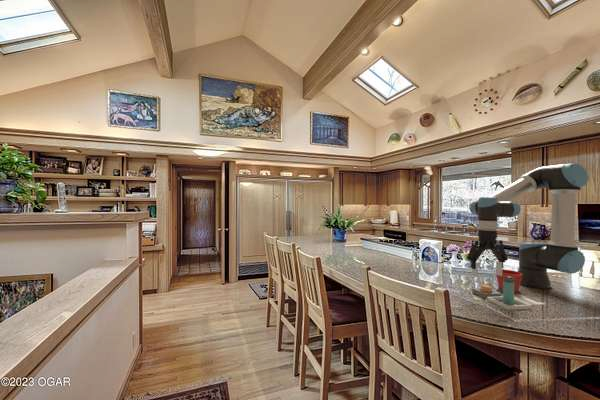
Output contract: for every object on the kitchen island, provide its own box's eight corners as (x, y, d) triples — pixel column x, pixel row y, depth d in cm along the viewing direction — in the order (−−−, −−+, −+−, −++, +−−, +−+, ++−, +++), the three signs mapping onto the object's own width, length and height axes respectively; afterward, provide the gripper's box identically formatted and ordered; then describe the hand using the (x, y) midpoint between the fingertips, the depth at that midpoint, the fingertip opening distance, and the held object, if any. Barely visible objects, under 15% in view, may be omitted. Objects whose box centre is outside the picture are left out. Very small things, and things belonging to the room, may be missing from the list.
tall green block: (508, 302, 119) (508, 275, 120) (516, 306, 116) (516, 278, 116) (500, 303, 119) (500, 275, 119) (508, 306, 115) (508, 278, 115)
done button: (486, 292, 131) (487, 285, 131) (494, 295, 126) (494, 287, 126) (478, 292, 130) (478, 285, 130) (485, 295, 126) (485, 288, 126)
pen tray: (509, 301, 123) (509, 296, 123) (531, 310, 113) (531, 305, 113) (487, 301, 122) (487, 296, 122) (507, 311, 111) (507, 306, 111)
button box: (487, 294, 133) (487, 287, 133) (501, 299, 125) (501, 293, 125) (472, 294, 132) (472, 288, 132) (485, 300, 124) (485, 293, 124)
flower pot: (512, 287, 143) (512, 269, 143) (527, 294, 132) (527, 275, 132) (490, 286, 144) (491, 268, 144) (504, 293, 133) (504, 274, 133)
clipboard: (521, 295, 131) (521, 293, 131) (550, 306, 117) (550, 304, 117) (498, 296, 130) (498, 293, 130) (525, 307, 116) (525, 304, 116)
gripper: (503, 228, 133) (503, 272, 133) (458, 228, 131) (457, 273, 130) (517, 230, 126) (517, 277, 126) (469, 230, 123) (469, 278, 123)
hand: (487, 275), depth 128 cm, fingers open, 12 cm apart
